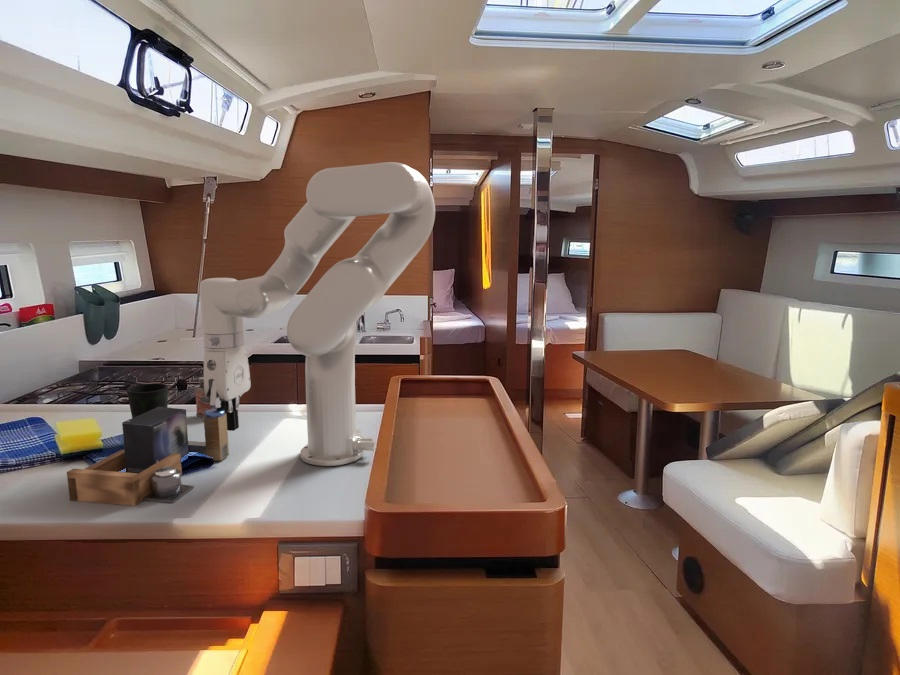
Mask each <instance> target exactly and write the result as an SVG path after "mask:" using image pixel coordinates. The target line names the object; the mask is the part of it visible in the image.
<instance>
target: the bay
mask: <svg viewBox="0 0 900 675" xmlns="http://www.w3.org/2000/svg"><path fill="white" fill-rule="evenodd" d="M165 467H174V468H176V469H178V470H180V471H181V476H182V475H183V468H182V464H181V454H177V453H173V454H171V455H169V456H167V457H166V458H164V459H162V460H161V461H159V462H157V463H156V464H154V465H152V466H151V467H149V468H147V469H146V470H144V471H142V472H141V473H139V474H138V473H126V472H119V471H121V470H123V469H125V468H126V465H125V452H124V449H120V450H118V451H116V452H114V453H113V454H111V455H109V456H107V457H104V458H103V459H101V460H98V461H97V462H95V463H93V464H91V465H89V466H87V467H85V468H71V469H70V470H68V471H66V478H67V486H68V494H69V495H68V496H69V501H74V502H84V503H85V502H86V503H96V504H97V503H99V504H107V505H110V504H111V505H120V506H122V505H123V506H131V507H132V506H133V507H135V506H137V505H138V504H140V503H141V502H143V498H144V497H145V496H147V495H148V494H150V493H151V492H152V483H151V475H152V474H153V473H155V472H156V471H157V470H158V469H161V468H165Z"/></svg>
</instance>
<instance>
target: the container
mask: <svg viewBox="0 0 900 675" xmlns="http://www.w3.org/2000/svg"><path fill="white" fill-rule="evenodd" d="M203 423H204V424H203V427H204V428H203V429H204V439H205V441H195V440H193V441H192V440H188V449H189V452H198V453H201V454H205V455H208V456H210V457H213V460H212V461H217V462H218V461H219V462H221V461H223V460H224V459H225V458H227V457H228V456H229V455H230V453H229V452H230V450H229V449H230V448H229V438H228V437H229V436H228V434H229V433H228V432H229V431H228V430H227V417H226V413H225V410H224V409H221V408H215V409H209V410H207V411H205V417H204V419H203Z"/></svg>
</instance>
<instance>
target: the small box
mask: <svg viewBox="0 0 900 675" xmlns="http://www.w3.org/2000/svg"><path fill="white" fill-rule="evenodd" d="M187 422H188V420H187V409H184V408H173V407H168V406H167V407H157V408H155V409H153V410H150V411H148V412H146V413H143V414H141V415H139V416H136V417H134V418H132V417H131V418H129V419H127V420H125V421H122V422H121V426H122V438H123V440H122V441H123V450H124V452H125V465H126V473H138V474H139V473H141V472H142V471H144V470H146V469H147V468H149V467H151V466H152V465H154V464H156V463H157V462H159V461H161V460H162V459H164V458H166V457H167V456H169V455H171V454H173V453H177V454H181V458H182V457H184V456H185V455H187V454H188V453H189V449H188V441H189V439H188V438H189V437H188V436H189V435H188V423H187Z"/></svg>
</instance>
